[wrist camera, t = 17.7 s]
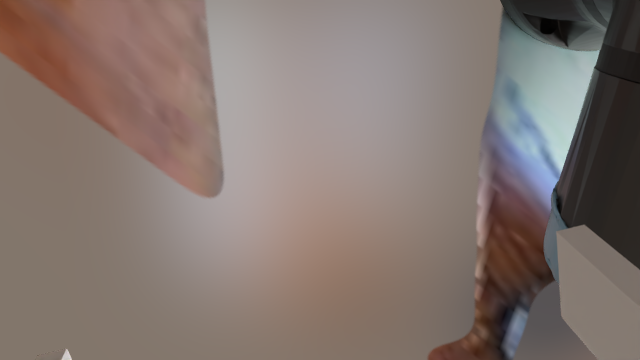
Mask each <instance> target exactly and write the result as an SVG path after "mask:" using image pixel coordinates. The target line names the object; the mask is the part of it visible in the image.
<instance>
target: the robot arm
mask: <svg viewBox="0 0 640 360" xmlns="http://www.w3.org/2000/svg"><path fill="white" fill-rule="evenodd" d="M500 1H501V3H502V5H503V7H504V8H505V10H506V12H507V13H508V15H509V16H510V17H511V19H512V20H513V21H514V22H515V23H516V24H517V25H518V26H519V27H520V28H521V29H522V30H523V31H525V32H526V33H527V34H529V35H530V36H532V37H533V38H535V39H537V40H539V41H542V42H544V43H547V44H550V45H553V46H557V47H560V48H563V49H568V50H575V51H597V50H600V53H599V56H598V60H597V63H596V66H595V67H594V70H593V74H592V77H591V80H590V83H589V87H588V90H587V93H586V97H585V100H584V103H583V106H582V110H581V113H580V116H579V120H578V123H577V126H576V129H575V133H574V136H573V139H572V142H571V145H570V148H569V151H568V154H567V157H566V160H565V163H564V167H563V170H562V173H561V176H560V179H559V181H558V182H557V184H556V185H555V188H554V189H553V192H552V196H551V206H552V209H551V214H550V218H549V221H548V225H547V229H546V233H545V238H544V254H545V259H546V261H547V263H548V265H549V267H550V269H551V270H552V272H553V276H554V278H555V280H556V281H557V283H558V284H559V285H560V300H561V301H560V302H561V317H562V318H563V319H564V320H565V322H566V323H567V324H568V325H569V326H570V328H571V329H572V330H573V331H574V332H575V333H576V334H577V336H578V337H579V338H580V339H581V340H582V342H584V344H585V345H586V346H587V347H588V349H589V350H590V351H591V352H592V353H593V355H594V356H595V357H596V358H597V359H598V360H640V0H500ZM35 360H72V359H71V357H70V354H69V352H68V350H67V348H66V349H62V350H58V351H53V352H49V353H45V354H41V355H38V356H37V357H36V359H35Z"/></svg>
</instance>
